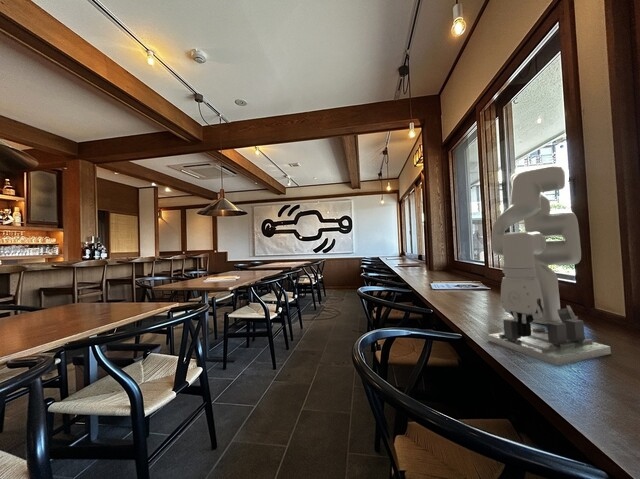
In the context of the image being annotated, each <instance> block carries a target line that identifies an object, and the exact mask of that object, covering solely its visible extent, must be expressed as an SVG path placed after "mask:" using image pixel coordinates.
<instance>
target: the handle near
mask: <svg viewBox="0 0 640 479" xmlns="http://www.w3.org/2000/svg"><path fill="white" fill-rule="evenodd" d="M565 324H566V332H567V339H569V340H573V341H579V340H584V339H586V338H585V322H584V320H582V319H578V320H577V319H569V320H565Z"/></svg>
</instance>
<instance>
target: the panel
mask: <svg viewBox="0 0 640 479" xmlns="http://www.w3.org/2000/svg"><path fill="white" fill-rule="evenodd" d="M487 340H488V342H490V341H491V343H492V344H495V345H499V346H502V347H504V348H507V349H511V350H513V351H516V352H518V353H521V354H524V355H526V356H529V357H532V358H535V359H538V360H540V361H543V362H546V363H548V364H551V365H553V366H557V367H558V366H563V365H567V364H572V363H576V362H580V361H585V360H590V359H594V358H600V357H603V356H607V355H611V354H612V352H611V346H609V345H606V344H602V343H598V342H594V341H593V339H592V338H585V339H584V340H579V341H573V340H569V339H567V343H563V344H560V345H557V344H554V343H550V342H549V341H548V329H546V327H544V326H539V327H536V326H533V327H532V326H531V336H526V337H522V336H521V338H519V339H513V340H512V339H509V338H506V337H505V336H504V331H502V332H501V331H500V332H497V333H496V332H495V333H491V334H487Z"/></svg>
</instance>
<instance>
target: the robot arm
mask: <svg viewBox="0 0 640 479" xmlns="http://www.w3.org/2000/svg"><path fill="white" fill-rule="evenodd" d="M569 177H570V174H569V169H568V167H567V166H566V164H565V163H562V162H561V163H555V164H550V165H549V164H548V165H544V166H540V167H534V168H528V169H525V170H521V171H517V172H515V173H513V174H512V175H511V176H510V185H511V192H510V201H509V203H510V204H509V207H508V208H507V209H505V210H503V212H502V213H500V215H499V216H498V217H497V219H496V220H495V222H494V223H493V225H492V226H493V227H492V230H491V231H492V232H491V239H490V240H491V241H490V245H491V246H490V247H491V251H492V252H493V253H494V254H495V255H497V256H502V257H503V258H502V259H503V269H502V270H501V272H502V274H504V277H502V279H501V284H500V304H501V306H500V307H501V309H503V310H504V312H506V313H507V314H509V315H511V317H512V318H514V320H515V321H516V322H517V332H518V335H519V336H522V337H526V336H531V327H532V326H531V323H534V324H538V325H547V323H550V322H560V323H562V321H561V319H560V317H559V315H558V309H561V302H560V301H561V300H560V292H559V278H558V274H556V271H554V270H552V268H550V267H549V266H569V265H570V266H573V265H578V264H579V263H580V261H581V260H582V248H581V237H580V227H579V222H578V218H577V216H576V214H575V212H573V211H571V210H560V211H559V210H558V211H557V210H556V211H551V205H550V204H551V202H550V201H551V200H550V199H549V197H548V196H546V194H544V193H548V192H552V191H553V192H555V191H559V190H560V191H561V190H563V189H564V188H565V187H566V185H567V184H568V182H569ZM522 221H523V223H524V224H523V225H524V231H515V232H513V231H512V232H506V231H507V230H508V229H509V228H511V227H512V226H514V225H516V224H517V223H520V222H522ZM549 237H550V238H552V237H562V238H563V239H553V240H552V239H547V240H546V238H549Z"/></svg>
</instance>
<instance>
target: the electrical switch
mask: <svg viewBox="0 0 640 479" xmlns="http://www.w3.org/2000/svg"><path fill="white" fill-rule="evenodd" d="M558 315H559V317H560V319H561V321H562V323H565V320H569V319H577V320H579V318H578V315H577V316H576V315H575V313H574V311H573V308H572V307H571V305H569V304H568V305H566V308H565V307H564V308H560V309H558Z"/></svg>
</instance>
